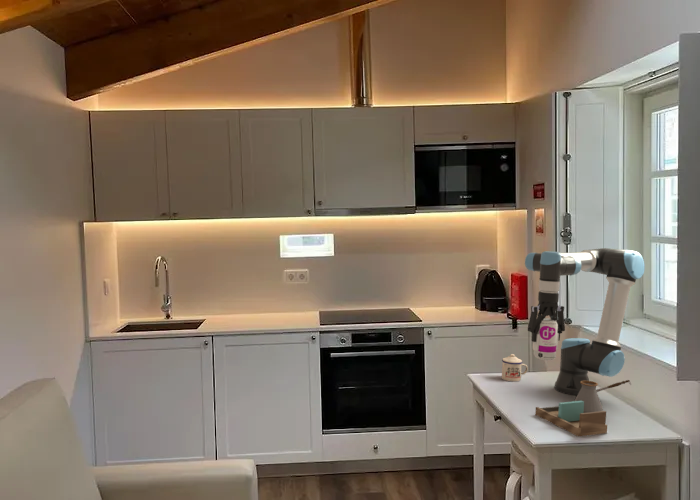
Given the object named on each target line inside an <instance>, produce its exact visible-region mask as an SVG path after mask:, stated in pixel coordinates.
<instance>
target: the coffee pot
mask: <svg viewBox="0 0 700 500" xmlns="http://www.w3.org/2000/svg"><path fill="white" fill-rule="evenodd" d="M580 383H581V384H582V388H581V390H580V392H579V393H578V395H576V397H575V399H574V401H583V402H584V412H583V413H589V412H598V411H604V409H603V408H604V407H603V405H602V403H601V400H600V397H599V394H598V393H599V392H601V391H605V390H607V389H611V388H615V387H619V386H621V385H625V384H626V383H628V384H629V385H630V386H632V383H631V381H630V380H629V379H627V380H622V381H619V382H616V383H613V384H610V385H607V386H605V387H601V388H597V386H598V385H599V383H598V382H595V381H592V380H589V381H581V382H580Z"/></svg>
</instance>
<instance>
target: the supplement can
mask: <svg viewBox="0 0 700 500" xmlns="http://www.w3.org/2000/svg"><path fill="white" fill-rule="evenodd" d="M557 330H558V324H557V322H556V321H554V320H551V318H549V317H547V318H546V317H545V318H544V320H543V321H542V322H541V324H540V329H539V331H538V333H537V334H539V349H538V351H536V350H533V356H534V358H535V359H537V360H542V361H553V360H555V359H556V358H557V350H556V346H557Z"/></svg>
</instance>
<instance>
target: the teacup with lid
mask: <svg viewBox="0 0 700 500" xmlns="http://www.w3.org/2000/svg"><path fill="white" fill-rule="evenodd" d="M501 361H502V362H501V363H502V367H501V379H502V380H504V381H506V382H519V381H521V379H522V375H525V374H526V373H528V370H529V368H528V365H527V364H526V363H523V360H522V359H520V358H518V357H517V356H516V355H515V354H514V353H511V354H510V355H508V356H506V357H503V358H502V360H501ZM523 366H524V367H525V370H524V371H523V372H522V367H523Z"/></svg>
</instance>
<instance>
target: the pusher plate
mask: <svg viewBox="0 0 700 500" xmlns="http://www.w3.org/2000/svg"><path fill="white" fill-rule="evenodd" d="M558 406H559V411H558V417H559V418H561V419H563V420H565V421H567V422H570V421H579V419H580V413H583V412H584V402H583V401H575V400H573V401H566V402H558Z"/></svg>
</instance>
